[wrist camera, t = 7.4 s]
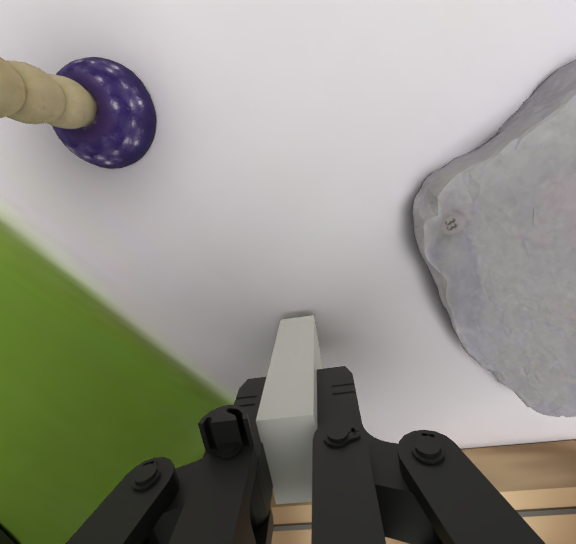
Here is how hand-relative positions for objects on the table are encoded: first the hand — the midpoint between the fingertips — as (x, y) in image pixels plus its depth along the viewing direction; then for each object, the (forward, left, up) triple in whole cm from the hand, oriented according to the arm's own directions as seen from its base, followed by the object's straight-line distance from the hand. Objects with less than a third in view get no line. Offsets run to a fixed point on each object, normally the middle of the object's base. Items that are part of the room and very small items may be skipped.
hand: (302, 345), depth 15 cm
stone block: (+11, +2, -2) cm, 11 cm away
